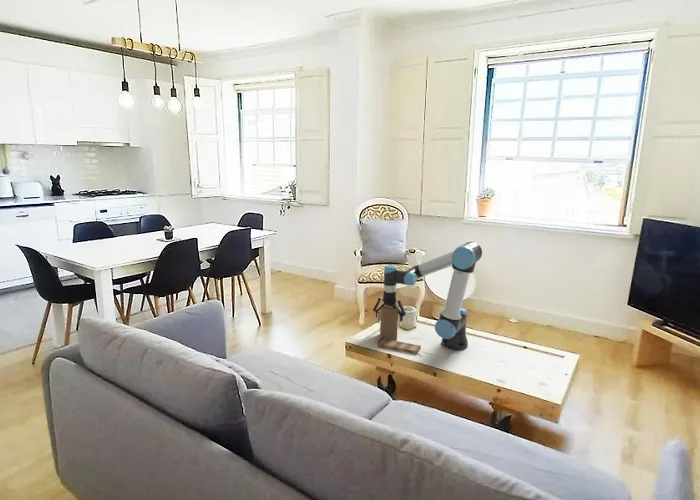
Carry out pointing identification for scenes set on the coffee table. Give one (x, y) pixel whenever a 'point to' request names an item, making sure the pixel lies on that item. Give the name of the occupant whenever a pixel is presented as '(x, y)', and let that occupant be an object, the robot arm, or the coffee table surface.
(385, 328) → the wooden block
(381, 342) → the plank
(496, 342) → the coffee table surface
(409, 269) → the robot arm
